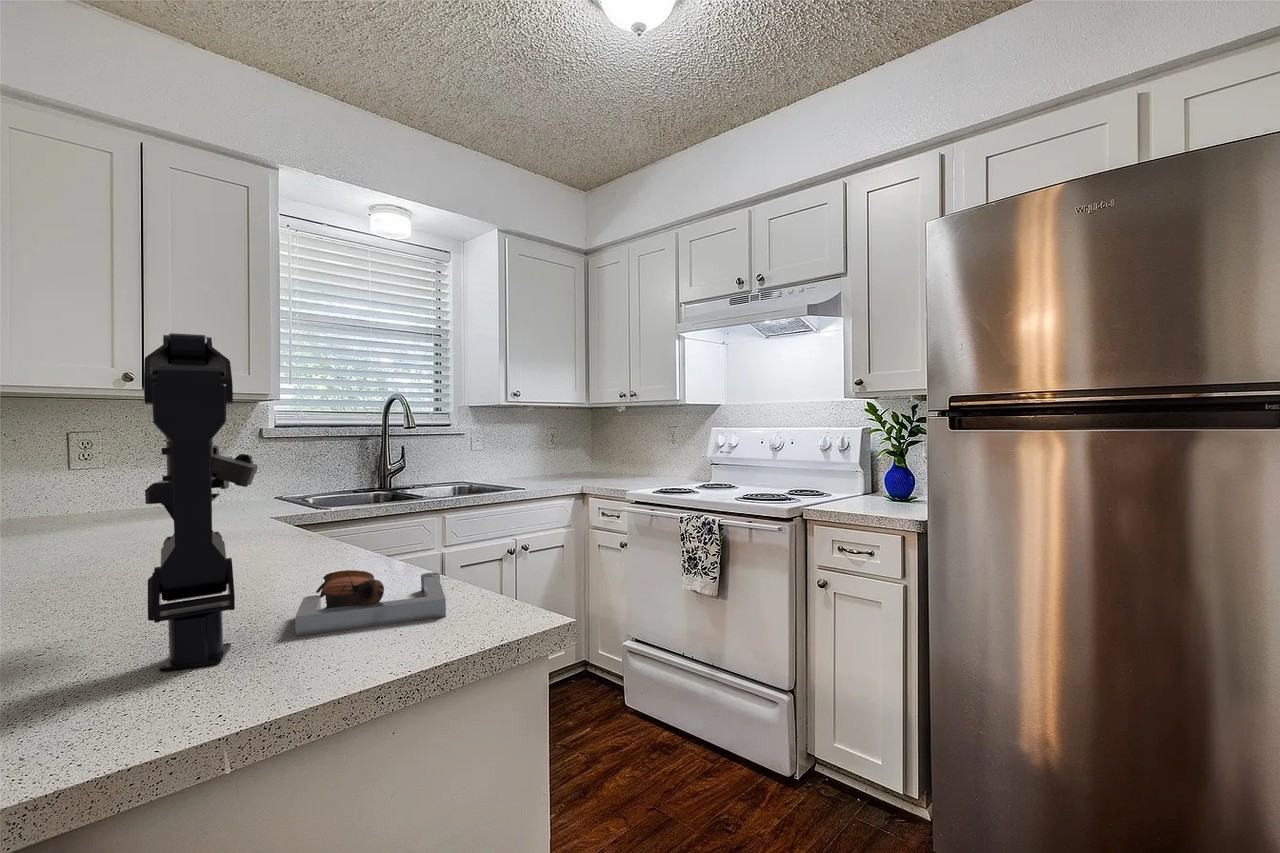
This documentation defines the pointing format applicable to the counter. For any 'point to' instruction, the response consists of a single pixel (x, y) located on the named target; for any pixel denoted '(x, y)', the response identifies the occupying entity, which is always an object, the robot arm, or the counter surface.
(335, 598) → the pottery mug
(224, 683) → the counter surface
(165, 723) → the counter surface
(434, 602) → the hook
